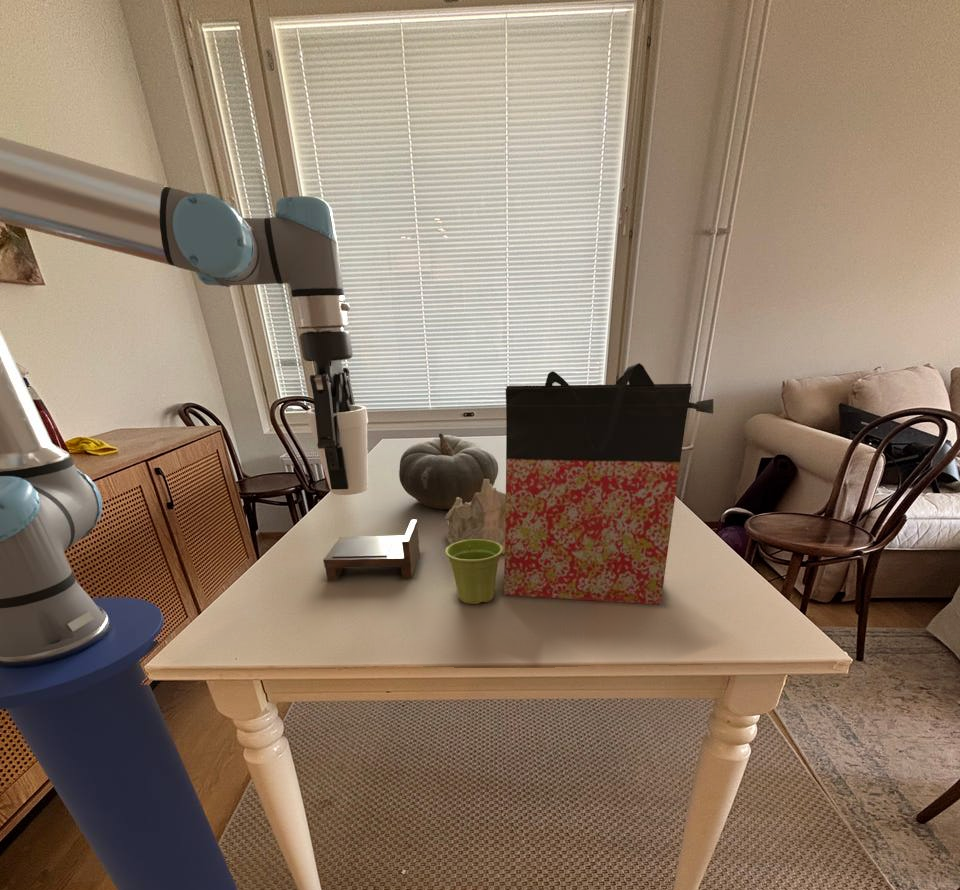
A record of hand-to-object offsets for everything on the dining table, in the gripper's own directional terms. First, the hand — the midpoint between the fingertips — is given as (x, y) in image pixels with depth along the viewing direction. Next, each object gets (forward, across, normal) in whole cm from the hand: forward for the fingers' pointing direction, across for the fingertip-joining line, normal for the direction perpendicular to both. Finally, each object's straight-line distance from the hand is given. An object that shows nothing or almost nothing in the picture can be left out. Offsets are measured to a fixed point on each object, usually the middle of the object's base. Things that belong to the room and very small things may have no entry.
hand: (347, 480), depth 92 cm
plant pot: (+18, -10, -22) cm, 30 cm away
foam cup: (+2, 0, 0) cm, 2 cm away
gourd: (+18, +46, -13) cm, 51 cm away
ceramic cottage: (+18, +16, -24) cm, 34 cm away
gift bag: (+18, -8, -42) cm, 46 cm away
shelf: (+18, +4, -2) cm, 18 cm away
